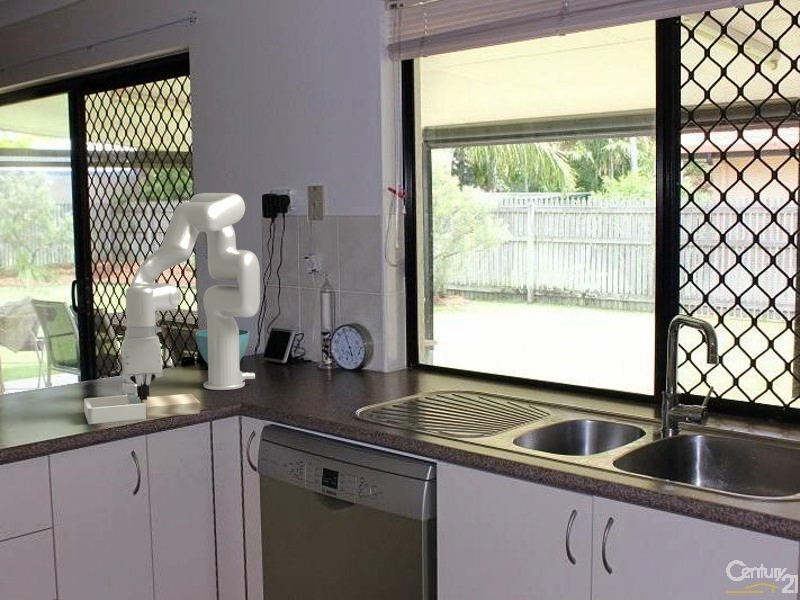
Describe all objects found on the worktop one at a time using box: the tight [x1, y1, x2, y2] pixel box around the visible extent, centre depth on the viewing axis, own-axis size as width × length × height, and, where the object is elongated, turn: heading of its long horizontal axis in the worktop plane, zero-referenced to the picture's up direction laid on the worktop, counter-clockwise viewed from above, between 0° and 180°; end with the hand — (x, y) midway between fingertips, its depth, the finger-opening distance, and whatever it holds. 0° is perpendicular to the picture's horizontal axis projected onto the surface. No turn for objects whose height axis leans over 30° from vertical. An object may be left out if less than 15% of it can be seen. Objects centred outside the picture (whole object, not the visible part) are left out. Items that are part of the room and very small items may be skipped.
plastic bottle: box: [119, 329, 144, 395], centre depth 255 cm, size 6×7×20 cm
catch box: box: [83, 394, 147, 425], centre depth 235 cm, size 14×13×4 cm
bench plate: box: [139, 393, 201, 419], centre depth 241 cm, size 14×12×3 cm
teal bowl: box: [195, 328, 250, 365], centre depth 304 cm, size 18×18×12 cm
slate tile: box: [127, 392, 138, 405], centre depth 236 cm, size 5×5×2 cm
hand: (143, 399), depth 237 cm, fingers closed
